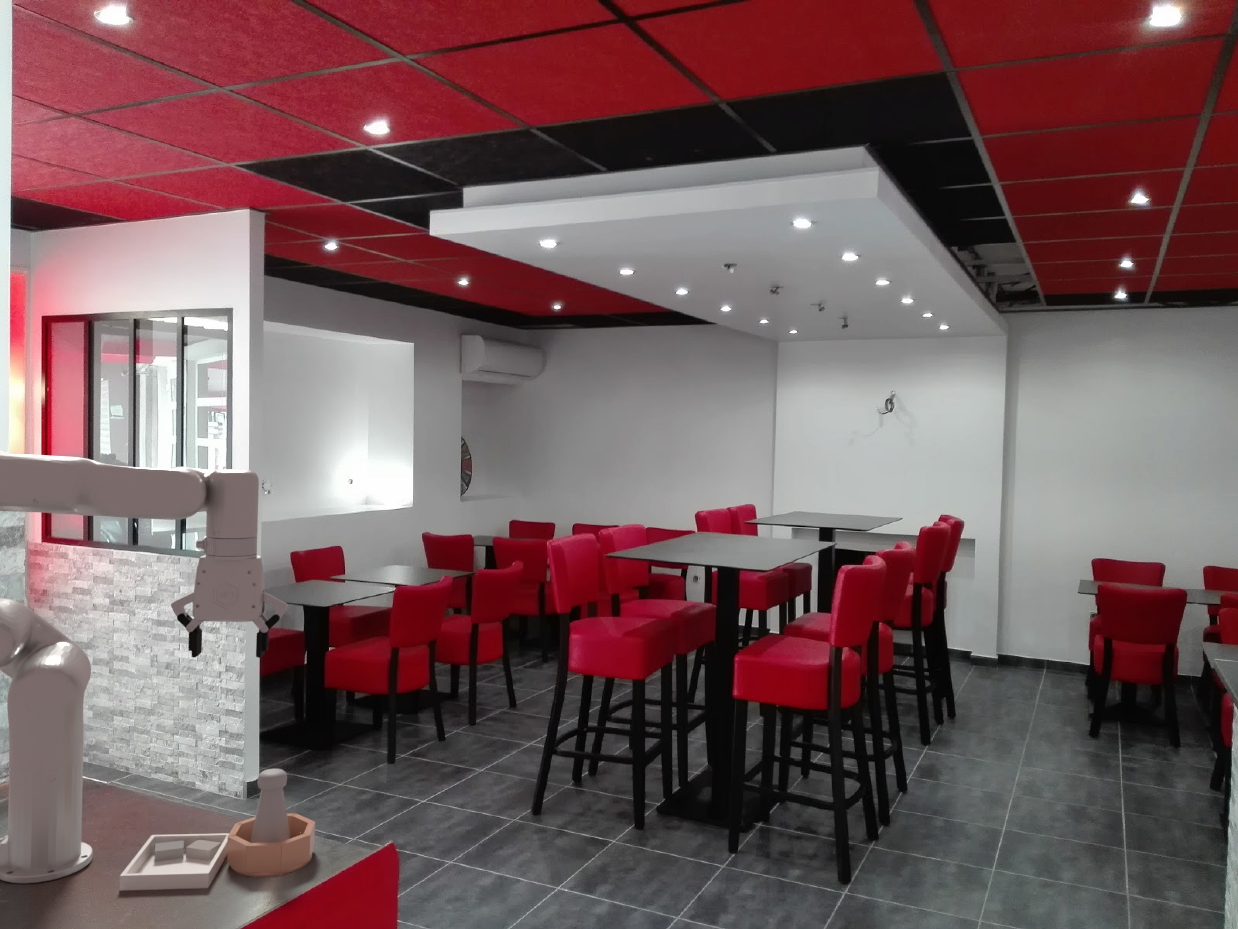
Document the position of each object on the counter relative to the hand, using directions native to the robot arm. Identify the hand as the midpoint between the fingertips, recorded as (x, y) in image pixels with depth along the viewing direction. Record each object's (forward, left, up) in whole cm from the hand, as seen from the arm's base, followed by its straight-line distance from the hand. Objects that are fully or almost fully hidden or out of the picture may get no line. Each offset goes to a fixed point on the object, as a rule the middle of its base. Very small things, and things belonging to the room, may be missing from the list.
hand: (228, 655), depth 154 cm
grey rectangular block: (-7, -4, -30) cm, 31 cm away
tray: (-5, -8, -30) cm, 32 cm away
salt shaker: (+8, -6, -30) cm, 31 cm away
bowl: (+8, -6, -30) cm, 32 cm away
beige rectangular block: (-2, -4, -30) cm, 31 cm away
